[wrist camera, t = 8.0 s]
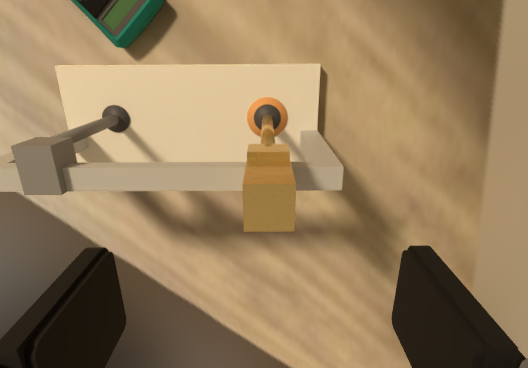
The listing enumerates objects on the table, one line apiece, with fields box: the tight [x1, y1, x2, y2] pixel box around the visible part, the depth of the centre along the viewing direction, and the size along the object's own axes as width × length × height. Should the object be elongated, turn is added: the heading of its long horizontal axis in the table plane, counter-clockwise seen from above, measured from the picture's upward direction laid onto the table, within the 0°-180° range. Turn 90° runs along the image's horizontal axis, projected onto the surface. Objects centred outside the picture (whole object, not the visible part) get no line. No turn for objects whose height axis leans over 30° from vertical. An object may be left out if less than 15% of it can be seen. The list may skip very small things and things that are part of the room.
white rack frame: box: [0, 64, 344, 195], centre depth 33 cm, size 12×30×17 cm, turn 90°
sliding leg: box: [242, 114, 296, 232], centre depth 29 cm, size 4×3×22 cm
